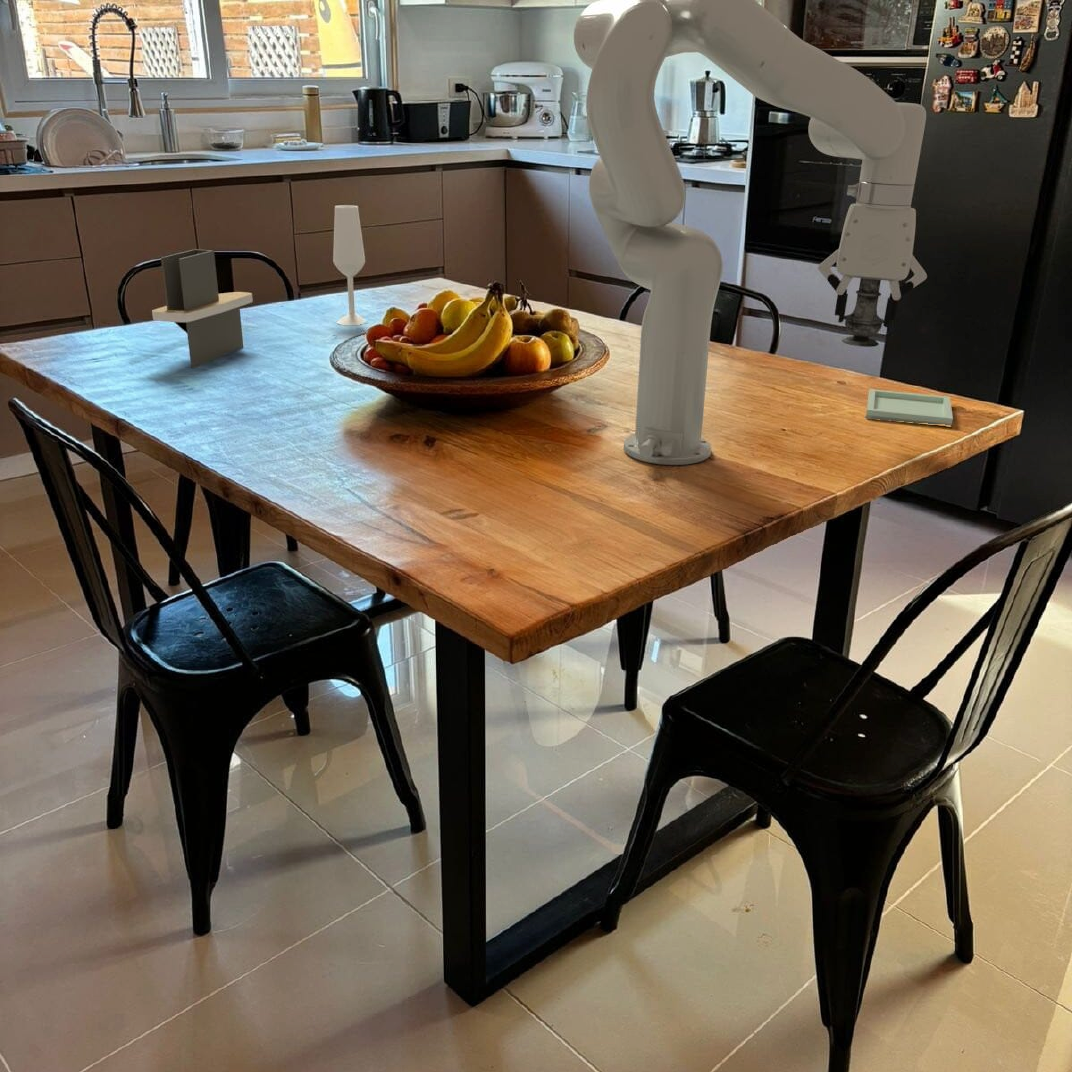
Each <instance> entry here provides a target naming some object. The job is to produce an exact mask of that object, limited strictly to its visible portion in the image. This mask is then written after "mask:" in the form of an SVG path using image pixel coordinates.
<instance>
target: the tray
mask: <svg viewBox="0 0 1072 1072" xmlns="http://www.w3.org/2000/svg"><path fill="white" fill-rule="evenodd" d="M866 403H867V405H866V413H865V419H866V420H872V419H880V420H879V421H882V420H891V421H904V422H913V423H928V424H945V425H953V419H954V417H953V411H952V410H953V409H952V404H951V396H947V395H946V396H944V395H934V394H925V393H913V392H906V391H905V392H904V391H903V392H902V391H892V390H883V389H873V388H869V389H868V396H867V402H866ZM891 421H890V422H891Z"/></svg>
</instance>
